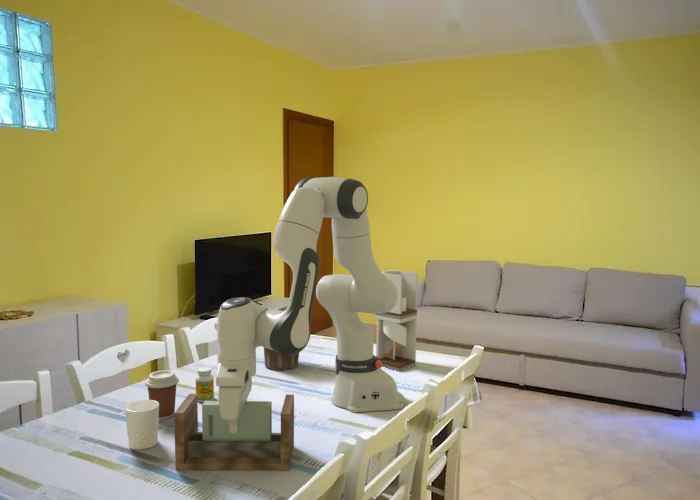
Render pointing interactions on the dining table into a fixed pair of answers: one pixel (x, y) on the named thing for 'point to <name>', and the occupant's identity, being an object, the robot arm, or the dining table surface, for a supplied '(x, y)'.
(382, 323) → the display case
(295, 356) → the plant pot
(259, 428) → the door panel
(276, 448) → the wooden book rack
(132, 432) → the white cup
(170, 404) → the coffee cup
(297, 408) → the dining table surface
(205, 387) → the supplement bottle
